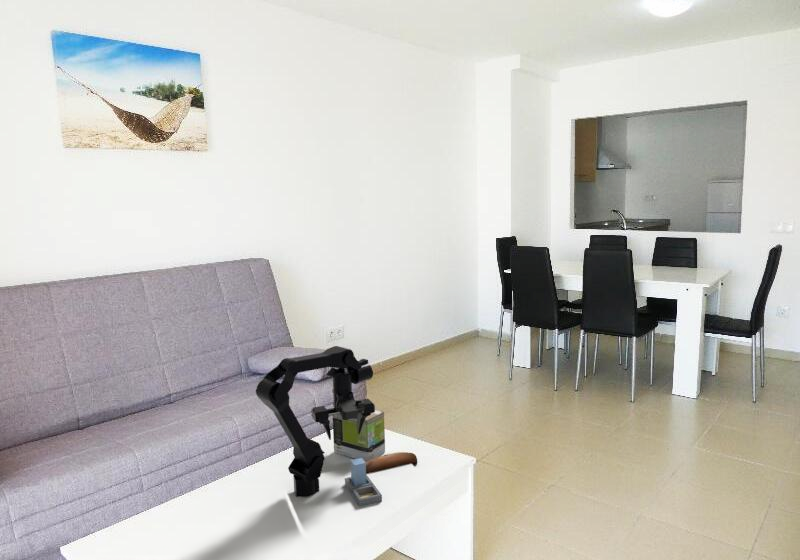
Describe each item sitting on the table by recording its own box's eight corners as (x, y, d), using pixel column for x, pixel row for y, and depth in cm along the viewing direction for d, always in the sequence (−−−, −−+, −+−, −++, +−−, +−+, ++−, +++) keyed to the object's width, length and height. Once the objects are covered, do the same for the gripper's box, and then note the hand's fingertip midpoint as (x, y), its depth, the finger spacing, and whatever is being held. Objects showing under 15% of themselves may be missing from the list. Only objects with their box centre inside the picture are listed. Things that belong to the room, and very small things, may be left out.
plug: (355, 491, 168) (354, 465, 167) (351, 485, 171) (350, 460, 170) (366, 488, 170) (365, 462, 168) (362, 483, 173) (361, 457, 172)
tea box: (386, 452, 196) (385, 410, 193) (368, 463, 188) (366, 420, 185) (351, 442, 204) (350, 402, 202) (332, 453, 196) (331, 411, 194)
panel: (357, 511, 160) (357, 501, 159) (342, 487, 172) (342, 478, 172) (384, 504, 163) (384, 494, 162) (368, 482, 175) (367, 473, 175)
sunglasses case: (406, 453, 194) (410, 441, 190) (414, 471, 189) (419, 459, 185) (356, 465, 186) (359, 453, 182) (363, 484, 181) (367, 472, 177)
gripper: (319, 401, 164) (321, 453, 167) (380, 391, 171) (382, 441, 174) (309, 389, 174) (312, 438, 177) (368, 380, 181) (369, 427, 184)
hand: (344, 436), depth 177 cm, fingers open, 9 cm apart
